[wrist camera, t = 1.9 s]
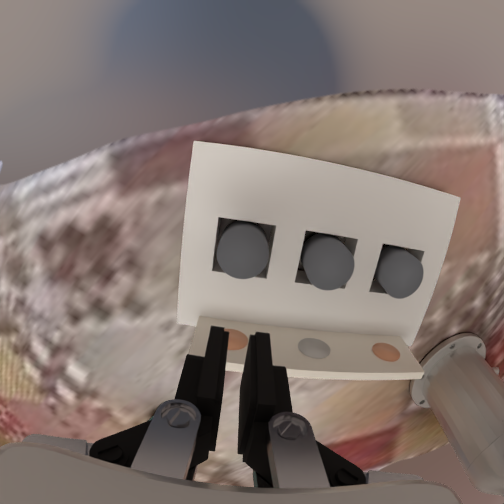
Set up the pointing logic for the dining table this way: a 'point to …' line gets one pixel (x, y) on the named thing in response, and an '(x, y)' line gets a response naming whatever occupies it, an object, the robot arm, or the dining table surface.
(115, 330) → the dining table surface
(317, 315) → the button panel
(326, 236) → the button middle
